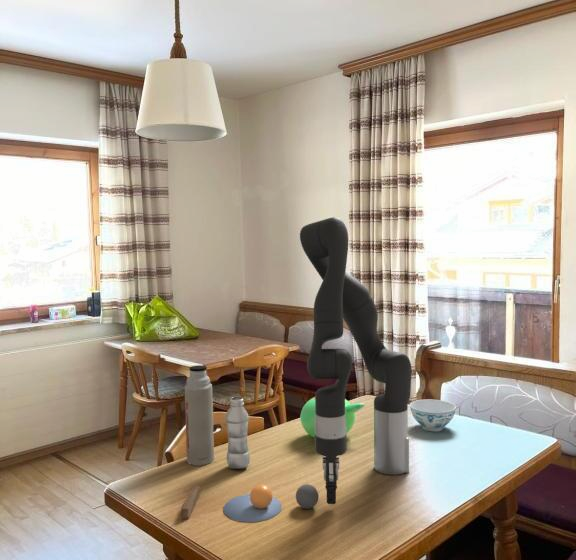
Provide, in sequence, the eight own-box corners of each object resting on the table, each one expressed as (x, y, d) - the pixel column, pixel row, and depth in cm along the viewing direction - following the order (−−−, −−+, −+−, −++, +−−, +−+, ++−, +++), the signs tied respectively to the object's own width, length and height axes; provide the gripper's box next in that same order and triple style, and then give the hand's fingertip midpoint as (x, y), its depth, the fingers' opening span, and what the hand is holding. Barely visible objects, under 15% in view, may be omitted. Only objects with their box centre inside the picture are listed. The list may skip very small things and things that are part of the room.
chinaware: (461, 435, 184) (461, 412, 183) (414, 436, 184) (414, 412, 184) (448, 420, 199) (448, 399, 198) (405, 421, 199) (405, 399, 199)
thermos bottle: (185, 466, 163) (182, 370, 161) (188, 455, 171) (185, 364, 169) (213, 464, 164) (210, 369, 161) (214, 454, 171) (212, 363, 169)
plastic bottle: (246, 472, 158) (245, 402, 156) (223, 471, 159) (221, 401, 157) (252, 463, 164) (251, 395, 162) (230, 462, 165) (228, 394, 164)
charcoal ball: (300, 478, 140) (293, 499, 140) (299, 485, 134) (291, 507, 134) (322, 485, 139) (314, 507, 139) (321, 493, 134) (313, 515, 134)
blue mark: (283, 494, 144) (283, 494, 144) (279, 522, 130) (279, 521, 130) (228, 494, 145) (228, 493, 144) (218, 521, 131) (218, 520, 131)
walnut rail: (199, 495, 144) (199, 486, 144) (188, 519, 132) (188, 508, 132) (193, 495, 144) (193, 486, 144) (182, 519, 132) (181, 508, 132)
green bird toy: (336, 425, 196) (335, 383, 194) (367, 440, 181) (367, 395, 180) (291, 435, 186) (291, 392, 185) (320, 452, 172) (320, 404, 171)
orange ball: (266, 476, 139) (247, 487, 140) (263, 486, 134) (243, 497, 135) (278, 495, 139) (259, 506, 140) (275, 505, 134) (256, 517, 134)
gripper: (347, 442, 128) (348, 516, 129) (345, 423, 141) (345, 490, 142) (314, 442, 128) (315, 516, 129) (315, 422, 141) (315, 490, 143)
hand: (331, 502), depth 136 cm, fingers closed
